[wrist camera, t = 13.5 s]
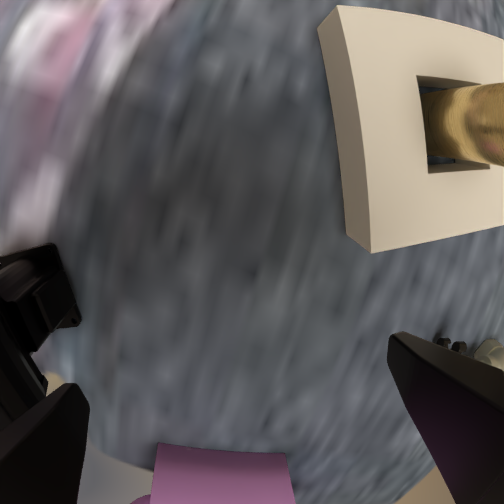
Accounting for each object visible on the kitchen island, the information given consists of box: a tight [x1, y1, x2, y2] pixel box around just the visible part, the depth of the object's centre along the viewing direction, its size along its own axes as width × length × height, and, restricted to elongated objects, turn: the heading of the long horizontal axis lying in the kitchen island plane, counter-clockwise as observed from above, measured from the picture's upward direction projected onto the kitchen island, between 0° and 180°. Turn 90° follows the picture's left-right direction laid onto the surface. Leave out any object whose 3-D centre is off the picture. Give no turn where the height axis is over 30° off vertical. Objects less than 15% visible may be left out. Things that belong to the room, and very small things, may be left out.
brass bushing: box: [419, 82, 504, 167], centre depth 12 cm, size 5×5×13 cm
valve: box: [437, 338, 504, 371], centre depth 23 cm, size 7×7×12 cm
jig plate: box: [317, 5, 504, 253], centre depth 17 cm, size 14×14×4 cm
